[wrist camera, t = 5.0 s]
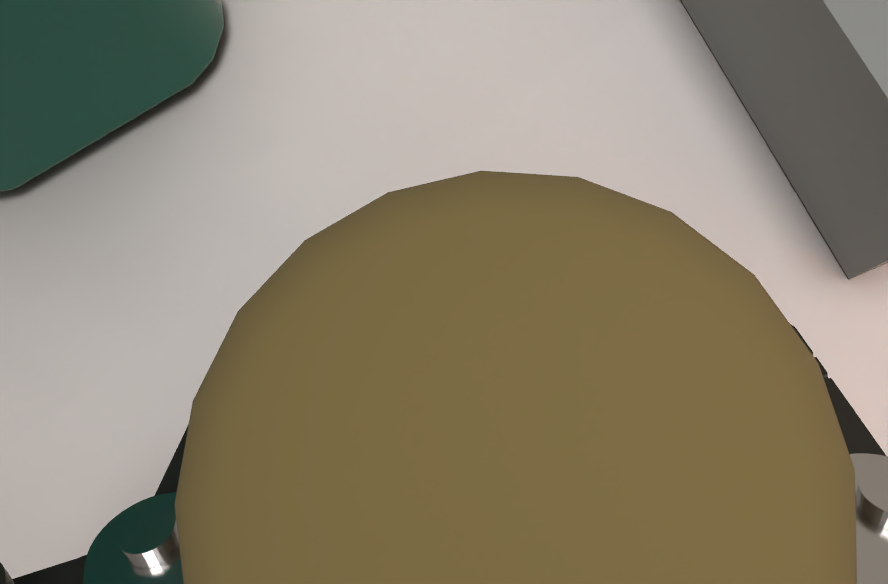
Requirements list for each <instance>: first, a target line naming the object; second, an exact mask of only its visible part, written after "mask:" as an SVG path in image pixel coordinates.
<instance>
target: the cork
mask: <svg viewBox="0 0 888 584" xmlns="http://www.w3.org/2000/svg"><path fill="white" fill-rule="evenodd" d="M175 513H176V522H177V530H178V539H179V548H180V557H181V565H182V574H183V583H184V584H857V550H856V499H855V469H854V466H853V463H852V460H851V457H850V454H849V452H848V449H847V446H846V443H845V440H844V437H843V434H842V431H841V428H840V425H839V422H838V419H837V416H836V413H835V411H834V408H833V405H832V402H831V399H830V396H829V393H828V390H827V387H826V384H825V381H824V378H823V375H822V372H821V370H820V367H819V364H818V362H817V361H816V359H815V358H814V357H813V355H812V354H811V352H810V351H809V350H808V348H807V347H806V346H805V344H804V343H803V341H802V340H801V339H800V337H799V336H798V335H797V333H796V332H795V330H794V329H793V328H792V326H791V325H790V323H789V322H788V321H787V319H786V318H785V317H784V315H783V314H782V312H781V311H780V310H779V308H778V307H777V306H776V304H775V303H774V301H773V300H772V299H771V297H770V296H769V295H768V293H767V292H766V290H765V289H764V288H763V286H762V285H761V284H760V282H759V281H758V279H757V278H756V277H755V275H754V274H752V273H751V272H750V271H748V270H747V269H746V268H744V267H743V266H742V265H740V264H739V263H738V262H736V261H735V260H734V259H733V258H731V257H730V256H729V255H727V254H726V253H725V252H723V251H722V250H721V249H719V248H718V247H717V246H715V245H714V244H713V243H711V242H710V241H709V240H707V239H706V238H705V237H704V236H702V235H701V234H700V233H698V232H697V231H696V230H694V229H693V228H692V227H690V226H689V225H688V224H686V223H685V222H684V221H682V220H681V219H680V218H679V217H677V216H676V215H675V214H673V213H672V212H670V211H667V210H664V209H662V208H659V207H656V206H654V205H651V204H648V203H646V202H643V201H640V200H638V199H635V198H632V197H630V196H627V195H624V194H622V193H619V192H616V191H614V190H611V189H608V188H605V187H603V186H600V185H597V184H595V183H592V182H589V181H587V180H584V179H581V178H579V177H567V176H552V175H537V174H521V173H506V172H491V171H478V172H474V173H470V174H466V175H461V176H457V177H453V178H448V179H444V180H440V181H436V182H431V183H427V184H423V185H418V186H414V187H410V188H405V189H401V190H397V191H393V192H388V193H386V194H385V195H383V196H381V197H379V198H378V199H376V200H374V201H373V202H371V203H369V204H367V205H366V206H364V207H362V208H360V209H359V210H357V211H355V212H353V213H352V214H350V215H348V216H346V217H345V218H343V219H341V220H340V221H338V222H336V223H334V224H333V225H331V226H329V227H327V228H326V229H324V230H322V231H320V232H319V233H317V234H315V235H313V236H312V237H310V238H308V239H307V240H305V241H304V242H303V243H302V244H301V245H300V246H299V247H298V248H297V249H296V251H295V252H294V253H293V254H292V255H291V256H290V257H289V258H288V259H287V260H286V261H285V262H284V263H283V264H282V265H281V266H280V267H279V269H278V270H277V271H276V272H275V273H274V274H273V275H272V276H271V277H270V278H269V279H268V280H267V281H266V282H265V283H264V284H263V285H262V287H261V288H260V289H259V290H258V291H257V292H256V293H255V294H254V295H253V296H252V297H251V298H250V299H249V300H248V301H247V302H246V304H245V305H244V306H243V307H242V308H241V309H240V310H239V311H238V313H237V315H236V317H235V319H234V321H233V323H232V325H231V327H230V329H229V331H228V333H227V335H226V337H225V339H224V340H223V342H222V344H221V346H220V348H219V350H218V352H217V354H216V356H215V358H214V360H213V362H212V364H211V366H210V368H209V370H208V372H207V374H206V376H205V378H204V380H203V382H202V384H201V386H200V388H199V390H198V392H197V394H196V396H195V398H194V400H193V404H192V409H191V415H190V421H189V426H188V432H187V437H186V443H185V448H184V454H183V460H182V465H181V471H180V476H179V482H178V487H177V493H176V499H175Z"/></svg>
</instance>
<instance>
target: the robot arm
mask: <svg viewBox="0 0 888 584" xmlns="http://www.w3.org/2000/svg"><path fill="white" fill-rule="evenodd" d="M790 325H791V324H790ZM791 326H792V325H791ZM792 328H793V329H794V330H795V332H796V333H797V335H798V336H799V337H800V339H801V340H802V341H803V343H804V344H805V346H806V347H807V348H808V350H809V351H810V352H811V354H812V355H813V352H812V350H811V349H810V347H809V346H808V345H807V343H806V342H805V340H804V339H803V338H802V336H801V335H800V333H799V332H798V331H797V329H796V328H795V327H794V326H792ZM814 358H815V359H816V361H817V362H818V364H819V367H820V370H821V372H822V375H823V378H824V381H825V384H826V387H827V390H828V393H829V396H830V399H831V402H832V405H833V408H834V411H835V413H836V416H837V419H838V422H839V425H840V428H841V431H842V434H843V437H844V440H845V443H846V446H847V449H848V452H849V454H850V457H851V460H852V463H853V466H854V469H855V499H856V550H857V584H888V457H887V456H886V455H885V453H884V452H883V451H882V449H881V448H880V446H879V445H878V443H877V442H876V441H875V439H874V438H873V436H872V435H871V434H870V432H869V431H868V429H867V428H866V427H865V425H864V424H863V422H862V421H861V419H860V418H859V417H858V415H857V414H856V412H855V411H854V410H853V408H852V407H851V405H850V404H849V403H848V401H847V400H846V398H845V397H844V395H843V394H842V393H841V391H840V390H839V388H838V387H837V386H836V384H835V383H834V381H833V380H832V379H831V378H828V376H827V371H826V370H825V369H824V367H823V366H822V364H821V363H820V362H819V360H818V359H817V357H814ZM188 426H189V425H188ZM187 432H188V427H187V429H186V431H185V433H184V435H183V437H182V439H181V441H180V443H179V446H178V448H177V450H176V452H175V454H174V456H173V458H172V460H171V462H170V464H169V467H168V469H167V471H166V473H165V475H164V477H163V479H162V481H161V483H160V485H159V488H158V490H157V492H156V494H155V496H153V497H150V498H148V499H145V500H142V501H140V502H138V503H136V504H134V505H132V506H131V507H129V508H127V509H126V510H124V511H123V512H121V513H120V514H119V515H117V516H116V517H115V518H114V519H112V520H111V521H110V522H109V523H108V524H107V525H106V526H105V527H104V528H103V529H102V530H101V532H100V533H99V534H98V535H97V537H96V538H95V540H94V541H93V543H92V545H91V546H90V549H89V551H88V554H87V555H85V556H82V557H80V558H77V559H74V560H71V561H68V562H65V563H61V564H58V565H55V566H52V567H49V568H46V569H43V570H40V571H36V572H33V573H30V574H27V575H24V576H21V577H18V578H15V579H12V578H11V577H10V575H9V574H8V572H7V571H6V570H5V568H4V567H3V565H2V564H1V563H0V584H184V583H183V574H182V565H181V557H180V548H179V539H178V530H177V522H176V513H175V499H176V493H177V487H178V482H179V476H180V471H181V465H182V460H183V454H184V448H185V443H186V437H187Z"/></svg>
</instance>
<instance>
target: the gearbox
mask: <svg viewBox="0 0 888 584" xmlns="http://www.w3.org/2000/svg"><path fill="white" fill-rule="evenodd" d="M681 1H682V3H683V5H684V6H685V8H686V9H687V11H688V13H689V14H690V16H691V18H692V19H693V21H694V23H695V24H696V26H697V28H698V29H699V31H700V33H701V34H702V36H703V38H704V39H705V41H706V43H707V44H708V46H709V48H710V49H711V51H712V53H713V54H714V56H715V58H716V59H717V61H718V63H719V64H720V66H721V68H722V69H723V71H724V73H725V74H726V76H727V78H728V79H729V81H730V83H731V84H732V86H733V88H734V89H735V91H736V93H737V94H738V96H739V98H740V99H741V101H742V103H743V104H744V106H745V108H746V109H747V111H748V113H749V114H750V116H751V117H752V119H753V121H754V122H755V124H756V126H757V127H758V129H759V131H760V132H761V134H762V136H763V137H764V139H765V141H766V142H767V144H768V146H769V147H770V149H771V151H772V152H773V154H774V156H775V157H776V159H777V161H778V162H779V164H780V166H781V167H782V169H783V171H784V172H785V174H786V176H787V177H788V179H789V181H790V182H791V184H792V186H793V187H794V189H795V191H796V192H797V194H798V196H799V197H800V199H801V201H802V202H803V204H804V206H805V207H806V209H807V211H808V212H809V214H810V216H811V217H812V219H813V221H814V222H815V224H816V226H817V227H818V229H819V230H820V232H821V234H822V235H823V237H824V239H825V240H826V242H827V244H828V245H829V247H830V249H831V250H832V252H833V254H834V255H835V257H836V259H837V260H838V262H839V264H840V265H841V267H842V269H843V270H844V272H845V274H846V275H847V277H848V279H852V278H854V277H856V276H858V275H861V274H863V273H865V272H867V271H870V270H872V269H874V268H876V267H879V266H881V265H883V264H885V263H888V0H681Z"/></svg>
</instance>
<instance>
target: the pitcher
mask: <svg viewBox="0 0 888 584" xmlns="http://www.w3.org/2000/svg"><path fill="white" fill-rule="evenodd" d="M223 30H224V20H223V9H222V0H0V192H3V191H8V190H13V189H17V188H18V187H20V186H22V185H23V184H25V183H27V182H28V181H30V180H32V179H34V178H35V177H37V176H39V175H40V174H42V173H44V172H45V171H47V170H49V169H50V168H52V167H54V166H55V165H57V164H59V163H61V162H62V161H64V160H66V159H67V158H69V157H71V156H72V155H74V154H76V153H77V152H79V151H81V150H83V149H84V148H86V147H88V146H89V145H91V144H93V143H94V142H96V141H98V140H99V139H101V138H103V137H104V136H106V135H108V134H110V133H111V132H113V131H115V130H116V129H118V128H120V127H121V126H123V125H125V124H126V123H128V122H130V121H132V120H133V119H135V118H137V117H138V116H140V115H142V114H143V113H145V112H147V111H148V110H150V109H152V108H153V107H155V106H157V105H159V104H160V103H162V102H164V101H165V100H167V99H169V98H170V97H172V96H174V95H175V94H177V93H179V92H181V91H182V90H184V89H186V88H187V87H189V86H191V85H192V84H194V83H195V81H196V80H197V79H198V78H199V77H200V75H201V74H202V73H203V72H204V70H205V69H206V68H207V67H208V66H209V64H210V63H211V62H212V61H213V60H214V57H215V54H216V51H217V48H218V45H219V42H220V39H221V36H222V33H223Z"/></svg>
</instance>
